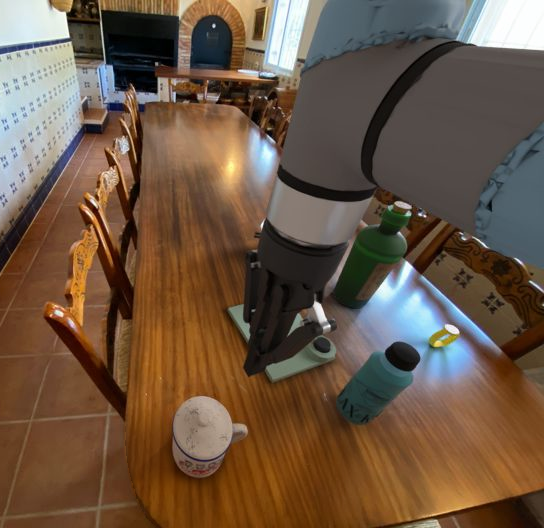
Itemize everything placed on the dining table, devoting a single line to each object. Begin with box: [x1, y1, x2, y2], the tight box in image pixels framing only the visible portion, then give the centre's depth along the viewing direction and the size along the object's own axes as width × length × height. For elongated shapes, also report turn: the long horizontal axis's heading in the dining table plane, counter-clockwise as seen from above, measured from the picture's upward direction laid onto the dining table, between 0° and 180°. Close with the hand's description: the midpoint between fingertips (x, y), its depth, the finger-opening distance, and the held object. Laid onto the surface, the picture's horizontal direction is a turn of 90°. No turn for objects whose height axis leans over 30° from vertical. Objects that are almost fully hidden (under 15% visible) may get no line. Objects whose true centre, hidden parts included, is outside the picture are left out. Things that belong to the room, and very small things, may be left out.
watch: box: [428, 323, 461, 349], centre depth 68 cm, size 6×3×6 cm, turn 100°
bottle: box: [332, 200, 412, 309], centre depth 71 cm, size 11×11×28 cm
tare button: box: [314, 336, 331, 353], centre depth 63 cm, size 3×3×2 cm
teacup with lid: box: [171, 395, 249, 479], centre depth 46 cm, size 12×9×12 cm
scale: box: [227, 303, 337, 384], centre depth 68 cm, size 20×16×3 cm
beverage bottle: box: [335, 341, 421, 426], centre depth 50 cm, size 6×7×20 cm
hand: (253, 369), depth 41 cm, fingers closed
